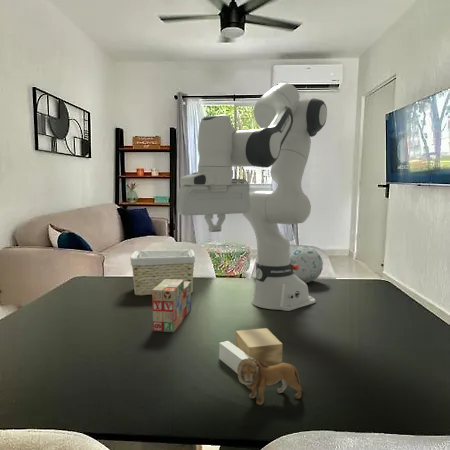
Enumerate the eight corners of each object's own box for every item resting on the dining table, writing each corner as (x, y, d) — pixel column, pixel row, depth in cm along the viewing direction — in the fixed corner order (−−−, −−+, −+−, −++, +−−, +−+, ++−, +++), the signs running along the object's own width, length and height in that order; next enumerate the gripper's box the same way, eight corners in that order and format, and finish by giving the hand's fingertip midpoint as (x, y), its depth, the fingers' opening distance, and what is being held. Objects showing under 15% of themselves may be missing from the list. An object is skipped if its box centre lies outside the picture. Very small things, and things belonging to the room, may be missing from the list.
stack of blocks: (173, 307, 134) (172, 271, 133) (191, 308, 133) (191, 272, 132) (152, 331, 113) (151, 289, 112) (173, 333, 112) (173, 290, 111)
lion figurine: (244, 413, 74) (244, 367, 73) (231, 399, 78) (232, 355, 77) (310, 396, 80) (311, 353, 78) (295, 384, 84) (296, 343, 83)
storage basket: (130, 297, 146) (129, 257, 145) (135, 285, 162) (134, 249, 161) (195, 295, 149) (195, 256, 147) (194, 284, 165) (194, 248, 163)
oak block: (266, 351, 101) (266, 328, 100) (281, 369, 91) (282, 343, 91) (235, 354, 99) (235, 330, 98) (248, 373, 89) (248, 347, 89)
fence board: (228, 356, 97) (228, 340, 97) (257, 379, 86) (258, 362, 85) (219, 358, 96) (219, 342, 96) (248, 382, 85) (248, 364, 84)
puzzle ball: (314, 288, 159) (315, 251, 157) (279, 283, 167) (280, 247, 165) (327, 280, 171) (328, 246, 170) (294, 276, 179) (295, 242, 178)
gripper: (243, 178, 111) (242, 228, 113) (174, 178, 101) (174, 232, 103) (255, 178, 106) (254, 230, 107) (183, 178, 96) (184, 235, 97)
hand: (215, 231), depth 105 cm, fingers closed
